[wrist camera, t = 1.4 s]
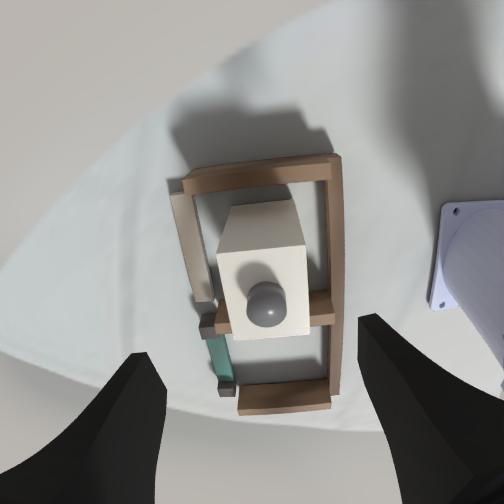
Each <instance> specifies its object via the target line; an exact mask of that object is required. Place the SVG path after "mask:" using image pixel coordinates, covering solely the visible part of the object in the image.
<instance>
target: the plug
mask: <svg viewBox="0 0 504 504" xmlns="http://www.w3.org/2000/svg"><path fill="white" fill-rule="evenodd" d="M216 257H217V262H218V267H219V272H220V277H221V281H222V286H223V291H224V296H225V301H226V305H227V310H228V315H229V319H230V324H231V328H232V333H233V338H234V341H236V340H251V339H264V338H277V337H288V336H298V335H308V334H310V318H309V296H308V276H307V260H306V245H305V241H304V237H303V233H302V229H301V225H300V221H299V217H298V214H297V210H296V206H295V202H294V199H292V200H282V201H272V202H263V203H254V204H245V205H237V206H231V208H230V211H229V214H228V217H227V221H226V224H225V227H224V230H223V233H222V236H221V239H220V243H219V246H218V249H217V252H216Z"/></svg>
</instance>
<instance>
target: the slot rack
mask: <svg viewBox="0 0 504 504" xmlns="http://www.w3.org/2000/svg"><path fill="white" fill-rule="evenodd" d="M318 180H324V190H325V206H326V226H327V251H328V290H322V291H313V292H308V296H309V318H310V327H313V326H322V325H329V327H328V376H327V379H320V380H311V381H301V382H290V383H278V384H263V385H245V386H240V387H239V398H238V409H237V410H238V414H239V416H243V415H267V414H282V413H295V412H305V411H315V410H324V409H331V397H330V396H333V395H339V389H340V376H341V362H342V345H343V323H344V288H345V236H344V200H343V179H342V162H341V156H339V155H338V154H337V153H333V154H320V155H307V156H296V157H286V158H276V159H267V160H258V161H250V162H242V163H234V164H226V165H219V166H212V167H206V168H199V169H193V170H192V171H191V172H190V173H189V174H188V175H187V176H186V177H185V178H184V179H183V180H182V183H183V188H184V191H182V192H175V193H172V194H171V196H170V197H171V202H172V207H173V211H174V216H175V220H176V224H177V229H178V233H179V237H180V242H181V246H182V250H183V254H184V258H185V262H186V266H187V270H188V274H189V278H190V282H191V286H192V290H193V294H194V298H195V301H196V302H207V301H214V299H215V292H214V287H213V283H212V278H211V274H210V269H209V265H208V260H207V255H206V251H205V246H204V241H203V236H202V231H201V227H200V222H199V217H198V212H197V206H196V201H195V196H194V195H196V194H203V193H210V192H217V191H225V190H233V189H241V188H249V187H258V186H267V185H276V184H286V183H296V182H307V181H318ZM199 331H200V335H201V338H202V340H203V339H206V341H207V345H208V348H209V351H210V355H211V358H212V362H213V365H214V368H215V372H216V375H217V378H218V388H217V390H218V393H219V396H220V397H235V394H236V384H237V383H236V379H235V375H234V371H233V367H232V363H231V359H230V355H229V351H228V347H227V343H226V339H225V335H224V334H230V333H232V328H231V324H230V319H229V315H228V310H227V305H226V301H225V300H219V304H218V309H217V313H216V314H208V315H202V317H201V321H200V324H199Z"/></svg>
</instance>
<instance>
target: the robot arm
mask: <svg viewBox="0 0 504 504" xmlns="http://www.w3.org/2000/svg"><path fill="white" fill-rule="evenodd" d="M455 208H457V211H456V212H455V213H454V214H453V211H454V209H455ZM442 302H443V303H442ZM440 303H442V304H440ZM455 307H461V309H462V310H463V311H464V313H465V314H466V315H467V317H468V318H469V319H470V321H471V322H472V324H473V325H474V326H475V328H476V329H477V331H478V332H479V334H480V335H481V336H482V338H483V339H484V341H485V342H486V344H487V345H488V347H489V348H490V350H491V351H492V353H493V354H494V356H495V357H496V359H497V360H498V362H499V364H500V365H501V367H502V368H503V370H504V200H489V201H470V202H453V203H446V204H444V205H443V207H442V210H441V220H440V230H439V240H438V249H437V256H436V264H435V271H434V277H433V283H432V289H431V295H430V300H429V308H430V309H431V311H439V310H445V309H450V308H455ZM357 360H358V364H359V367H360V371H361V374H362V378H363V381H364V384H365V387H366V389H367V392H368V394H369V397H370V399H371V401H372V404H373V406H374V409H375V411H376V413H377V416H378V418H379V420H380V423H381V425H382V428H383V430H384V433H385V435H386V438H387V441H388V444H389V447H390V450H391V454H392V458H393V462H394V465H395V470H396V474H397V479H398V483H399V488H400V493H401V498H402V504H504V400H501V399H499V398H497V397H494V396H492V395H490V394H488V393H486V392H484V391H481V390H479V389H477V388H475V387H473V386H471V385H469V384H468V383H466V382H464V381H462V380H461V379H459V378H457V377H456V376H454V375H452V374H451V373H449V372H448V371H446V370H445V369H443V368H442V367H440V366H439V365H437V364H436V363H435V362H433V361H432V360H431V359H429V358H428V357H427V356H425V355H424V354H423V353H421V352H420V351H419V350H418V349H416V348H415V347H414V346H413V345H412V344H410V343H409V342H408V341H407V340H406V339H404V338H403V337H402V336H401V335H400V334H399V333H397V332H396V331H395V330H394V329H393V328H392V327H391V326H390V325H388V324H387V323H386V322H385V321H384V320H383V319H382V318H381V317H380V316H379V315H377V314H376V313H374V314H370V315H365V316H361V317H358V358H357ZM501 387H502V389H503V391H504V380H503V382H502V383H501ZM166 404H167V389H166V387H165V385H164V383H163V382H162V380H161V378H160V376H159V374H158V373H157V371H156V369H155V367H154V365H153V363H152V362H151V360H150V358H149V356H148V354H147V352H142V353H131V354H130V356H129V357H128V358H127V359H126V360H125V361H124V363H123V364H122V365H121V366H120V367H119V369H118V370H117V371H116V372H115V374H114V375H113V376H112V377H111V379H110V380H109V381H108V382H107V384H106V385H105V386H104V387H103V388H102V390H101V391H100V392H99V393H98V395H97V396H96V397H95V398H94V399H93V400H92V402H91V403H90V404H89V405H88V406H87V407H86V408H85V409H84V411H83V412H82V413H81V414H80V415H79V416H78V417H77V418H76V419H75V420H74V421H73V422H72V423H71V424H70V425H69V426H68V427H67V428H66V429H65V430H64V431H63V432H62V433H61V434H60V435H58V436H57V437H56V438H55V439H54V440H52V441H51V442H50V443H49V444H47V445H46V446H45V447H44V448H42V449H41V450H40V451H39V452H37V453H36V454H34V455H33V456H31V457H30V458H28V459H27V460H25V461H23V462H22V463H20V464H18V465H17V466H15V467H13V468H11V469H9V470H7V471H5V472H3V473H1V474H0V504H155V501H154V500H155V499H154V498H155V474H156V466H157V460H158V454H159V449H160V444H161V438H162V433H163V428H164V422H165V416H166Z"/></svg>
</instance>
